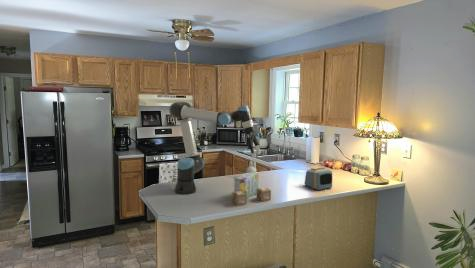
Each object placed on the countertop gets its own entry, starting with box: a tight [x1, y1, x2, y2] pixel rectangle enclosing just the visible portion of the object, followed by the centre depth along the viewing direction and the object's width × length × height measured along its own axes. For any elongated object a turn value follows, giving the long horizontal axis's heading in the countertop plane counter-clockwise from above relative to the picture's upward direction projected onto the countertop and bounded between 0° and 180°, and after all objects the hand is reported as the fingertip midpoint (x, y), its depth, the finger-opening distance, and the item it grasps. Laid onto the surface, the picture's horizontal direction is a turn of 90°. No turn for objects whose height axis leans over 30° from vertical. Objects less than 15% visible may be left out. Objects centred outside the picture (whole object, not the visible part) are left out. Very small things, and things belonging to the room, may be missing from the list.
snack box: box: [233, 172, 259, 198], centre depth 215 cm, size 21×6×15 cm, turn 141°
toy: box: [240, 160, 257, 176], centre depth 260 cm, size 10×17×15 cm, turn 137°
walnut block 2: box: [256, 187, 272, 202], centre depth 210 cm, size 7×7×7 cm
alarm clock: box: [304, 166, 333, 191], centre depth 242 cm, size 16×16×16 cm
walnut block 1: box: [231, 191, 248, 207], centre depth 201 cm, size 7×7×7 cm
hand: (256, 155), depth 217 cm, fingers open, 13 cm apart
